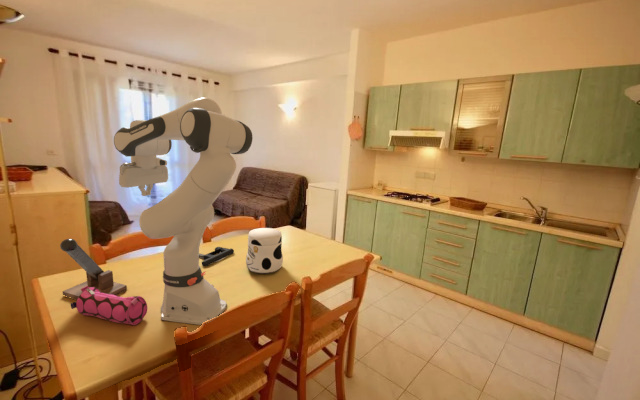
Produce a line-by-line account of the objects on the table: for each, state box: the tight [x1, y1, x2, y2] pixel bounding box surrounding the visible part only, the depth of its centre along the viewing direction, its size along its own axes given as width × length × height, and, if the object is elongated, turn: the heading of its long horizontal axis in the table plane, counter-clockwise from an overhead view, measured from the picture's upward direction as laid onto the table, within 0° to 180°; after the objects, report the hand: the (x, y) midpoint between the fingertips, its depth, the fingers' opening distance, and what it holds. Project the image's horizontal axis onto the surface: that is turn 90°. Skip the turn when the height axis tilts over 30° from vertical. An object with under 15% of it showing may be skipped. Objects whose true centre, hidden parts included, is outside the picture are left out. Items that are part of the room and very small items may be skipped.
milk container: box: [245, 227, 284, 275], centre depth 136 cm, size 17×17×18 cm
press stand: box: [62, 269, 128, 301], centre depth 108 cm, size 16×12×8 cm
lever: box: [59, 238, 105, 282], centre depth 103 cm, size 4×4×22 cm
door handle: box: [199, 246, 235, 267], centre depth 147 cm, size 3×20×16 cm
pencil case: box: [69, 286, 148, 326], centre depth 94 cm, size 21×10×10 cm, turn 80°
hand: (146, 195), depth 119 cm, fingers closed
